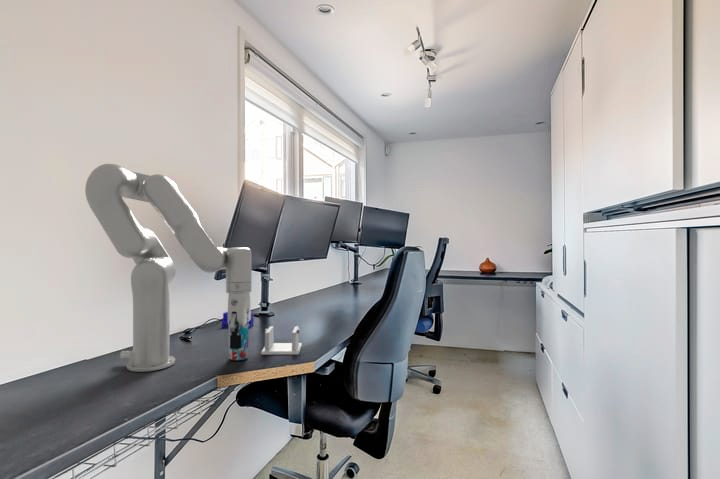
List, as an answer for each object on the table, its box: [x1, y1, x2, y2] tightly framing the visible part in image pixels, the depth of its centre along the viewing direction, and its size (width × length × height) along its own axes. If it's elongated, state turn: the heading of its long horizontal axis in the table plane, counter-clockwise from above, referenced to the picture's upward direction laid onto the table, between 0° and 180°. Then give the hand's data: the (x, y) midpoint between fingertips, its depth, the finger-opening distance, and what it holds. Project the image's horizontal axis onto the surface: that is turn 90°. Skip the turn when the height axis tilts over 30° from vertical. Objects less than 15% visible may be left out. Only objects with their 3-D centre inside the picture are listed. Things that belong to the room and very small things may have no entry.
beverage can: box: [227, 311, 250, 363], centre depth 121 cm, size 6×6×15 cm
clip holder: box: [260, 325, 303, 356], centre depth 132 cm, size 12×10×7 cm
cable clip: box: [221, 311, 255, 329], centre depth 165 cm, size 12×4×6 cm, turn 88°
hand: (238, 344), depth 121 cm, fingers closed on beverage can, 5 cm apart
